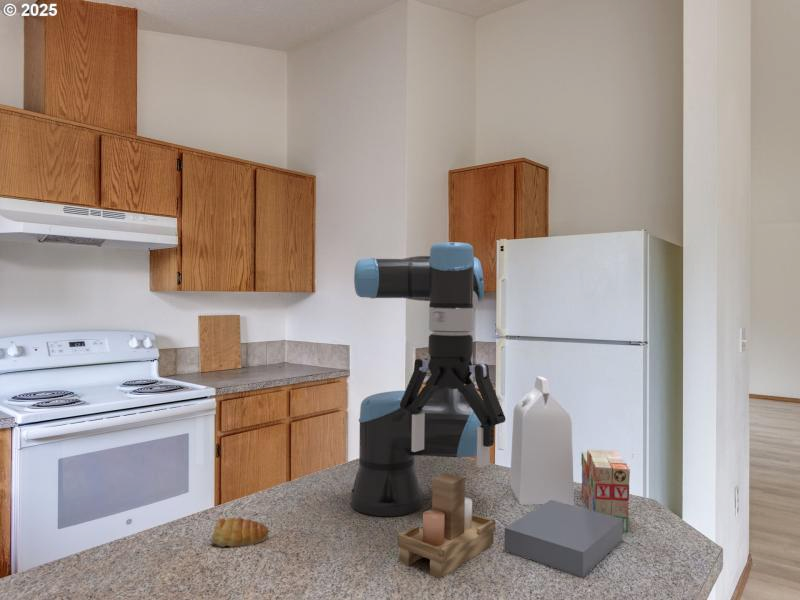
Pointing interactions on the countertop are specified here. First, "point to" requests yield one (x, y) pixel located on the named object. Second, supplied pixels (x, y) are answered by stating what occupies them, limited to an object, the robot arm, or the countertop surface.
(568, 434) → the milk
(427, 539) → the brown egg
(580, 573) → the dock
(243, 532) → the pastry
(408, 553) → the carrier tray
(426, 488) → the countertop surface
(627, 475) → the stack of blocks
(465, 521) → the white egg
